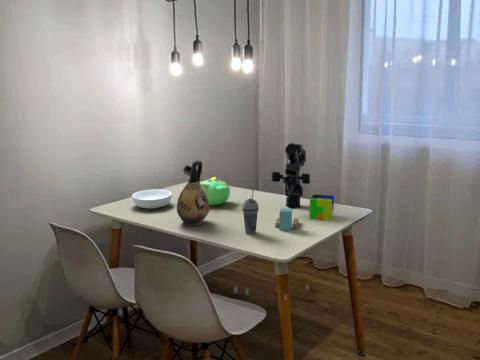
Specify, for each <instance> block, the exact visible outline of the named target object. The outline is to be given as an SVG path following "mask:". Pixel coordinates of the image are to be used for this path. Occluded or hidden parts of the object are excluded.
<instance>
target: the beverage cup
mask: <svg viewBox="0 0 480 360" xmlns="http://www.w3.org/2000/svg"><path fill="white" fill-rule="evenodd" d="M251 191H252V192H251V197H250V198H249V199H246V200H245V201H244V202H243V204H242V207H241V208H242V214H243V220H244V221H243V222H244V231H245V234H246V235H249V236H250V235H252V236H253V235H256V233H257V224H258V223H257V222H258V213H259V209H260V208H259V203H258V202H257V201H256V200H255V199H254V191H255V190H254V188H253V189H252V190H251Z"/></svg>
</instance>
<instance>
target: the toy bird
mask: <svg viewBox="0 0 480 360" xmlns="http://www.w3.org/2000/svg"><path fill="white" fill-rule="evenodd" d="M200 185H201V187H202V188H203V190H204V191H205V193H206V195H207V197H208V200H209V206H218V205H223V204H224V203H226V202H227V200H228V199H229V198H230V195H231V190H230V186H229V185H228V184H227V182H225V181H223V180H221V179H217V176H214V177H211V178H210V179H206V180H204V181H201V182H200Z"/></svg>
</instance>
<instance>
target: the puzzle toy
mask: <svg viewBox="0 0 480 360" xmlns="http://www.w3.org/2000/svg"><path fill="white" fill-rule="evenodd" d="M334 202H335V196H334V195H327V194H316V193H315V194H313V195H312V196H311V197H310V199H309V220H313V219H318V220H317V221H324V220H330V221H332V219H331V218H333V217H334V208H335V207H334V205H335V203H334ZM332 216H333V217H332Z"/></svg>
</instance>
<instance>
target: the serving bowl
mask: <svg viewBox="0 0 480 360" xmlns="http://www.w3.org/2000/svg"><path fill="white" fill-rule="evenodd" d="M131 197H132V201H133V203H134V204H135V205H136V206H137V207H139V208H142V209H149V210H151V209H152V210H154V209H159V208H162V207H165V206H167V205H168V204H169V203H170V202H171V199H172V192H171V191H169V190H166V189H145V190H139V191H136V192H134V193H132V195H131Z"/></svg>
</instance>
